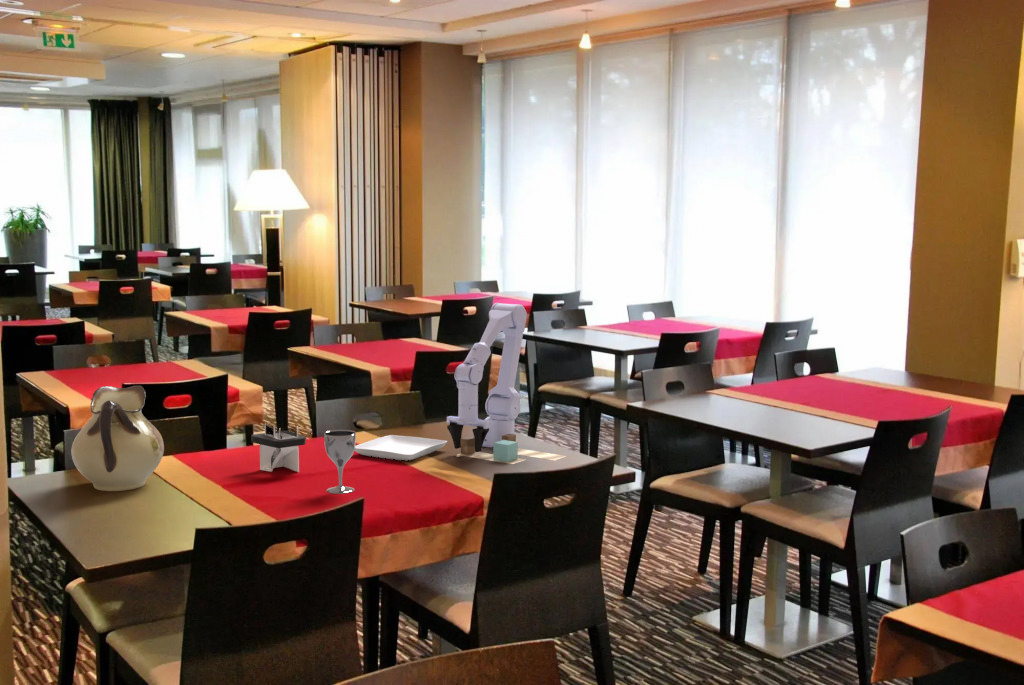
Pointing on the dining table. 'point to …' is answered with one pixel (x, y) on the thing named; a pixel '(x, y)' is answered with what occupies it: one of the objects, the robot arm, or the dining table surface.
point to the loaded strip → (469, 451)
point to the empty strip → (532, 453)
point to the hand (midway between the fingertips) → (467, 449)
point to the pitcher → (117, 441)
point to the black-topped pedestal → (279, 448)
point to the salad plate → (399, 447)
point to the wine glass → (340, 453)
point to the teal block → (505, 451)
